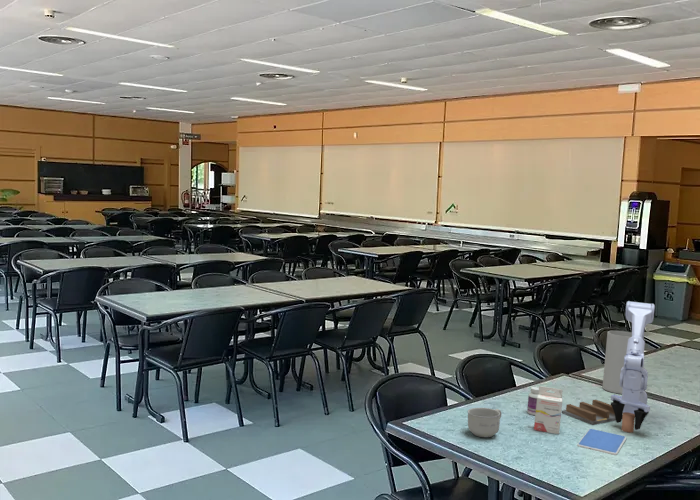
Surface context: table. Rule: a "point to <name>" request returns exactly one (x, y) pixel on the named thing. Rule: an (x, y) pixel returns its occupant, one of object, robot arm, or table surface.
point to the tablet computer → (602, 441)
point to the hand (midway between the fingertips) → (627, 425)
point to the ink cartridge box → (548, 410)
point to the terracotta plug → (628, 422)
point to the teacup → (484, 421)
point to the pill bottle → (532, 400)
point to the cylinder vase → (614, 359)
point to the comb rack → (591, 412)
